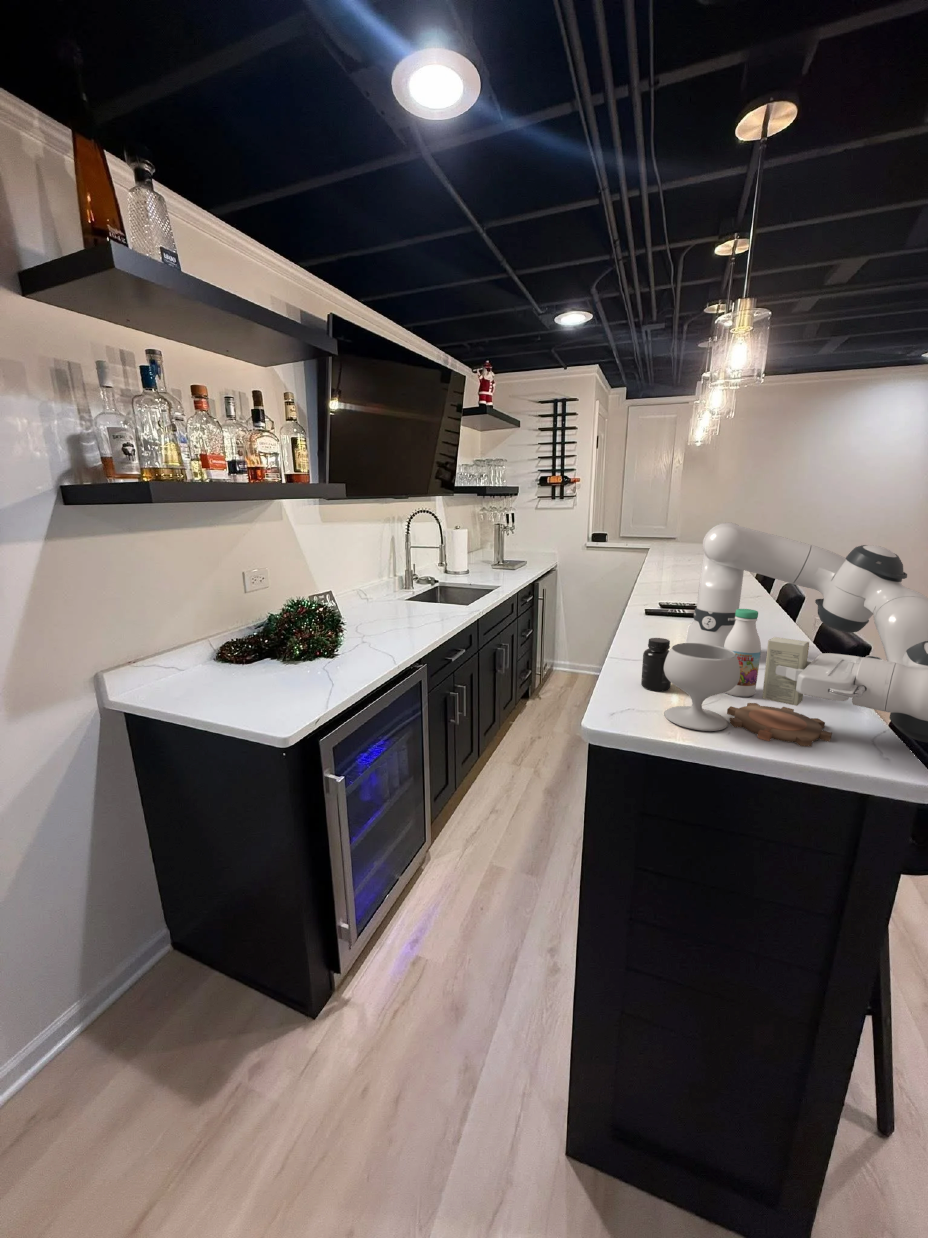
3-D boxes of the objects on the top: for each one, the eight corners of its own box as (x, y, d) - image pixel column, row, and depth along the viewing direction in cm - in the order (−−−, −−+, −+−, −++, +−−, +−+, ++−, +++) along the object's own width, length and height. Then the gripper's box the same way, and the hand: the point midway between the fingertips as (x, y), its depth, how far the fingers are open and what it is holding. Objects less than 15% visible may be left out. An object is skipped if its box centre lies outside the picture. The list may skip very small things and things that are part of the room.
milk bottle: (716, 684, 124) (726, 606, 120) (751, 688, 121) (762, 608, 117) (720, 695, 117) (731, 612, 112) (758, 699, 114) (770, 614, 110)
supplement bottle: (665, 683, 125) (670, 636, 122) (674, 692, 118) (679, 644, 116) (637, 681, 126) (641, 636, 123) (644, 691, 119) (648, 643, 116)
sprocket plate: (741, 701, 113) (742, 695, 113) (839, 726, 100) (840, 719, 100) (713, 725, 100) (714, 718, 100) (820, 756, 88) (821, 749, 88)
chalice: (657, 727, 100) (664, 655, 96) (660, 702, 112) (667, 638, 109) (735, 740, 94) (746, 664, 91) (730, 713, 106) (739, 646, 103)
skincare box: (802, 701, 98) (812, 641, 96) (797, 707, 95) (806, 645, 93) (766, 692, 103) (774, 635, 100) (759, 698, 100) (767, 639, 97)
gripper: (857, 716, 82) (763, 694, 92) (873, 686, 96) (790, 669, 106) (864, 680, 81) (768, 661, 90) (879, 654, 95) (795, 641, 104)
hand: (780, 665), depth 98 cm, fingers closed on skincare box, 4 cm apart
